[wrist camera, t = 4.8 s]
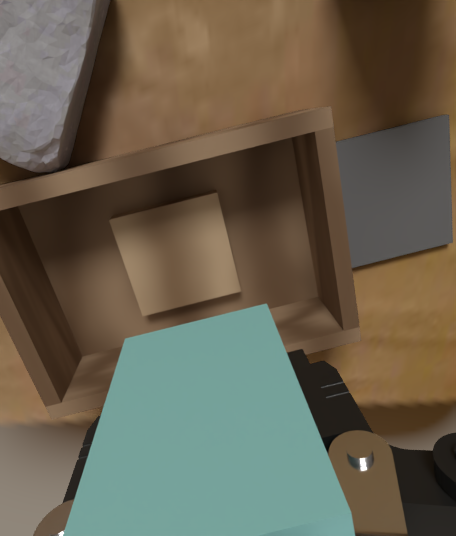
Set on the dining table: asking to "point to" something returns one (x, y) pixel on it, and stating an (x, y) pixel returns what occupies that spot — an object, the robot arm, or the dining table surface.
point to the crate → (175, 249)
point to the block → (208, 440)
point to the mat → (397, 190)
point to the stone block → (45, 77)
